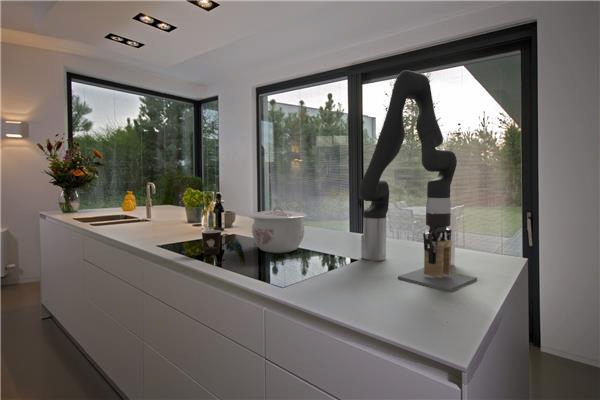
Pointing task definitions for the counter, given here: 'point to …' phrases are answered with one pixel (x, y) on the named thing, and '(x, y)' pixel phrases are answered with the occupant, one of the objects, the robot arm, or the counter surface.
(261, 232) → the chamber pot
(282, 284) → the counter surface
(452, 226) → the milk
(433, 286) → the mat
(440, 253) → the tan notched block
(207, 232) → the coffee mug
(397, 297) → the counter surface
